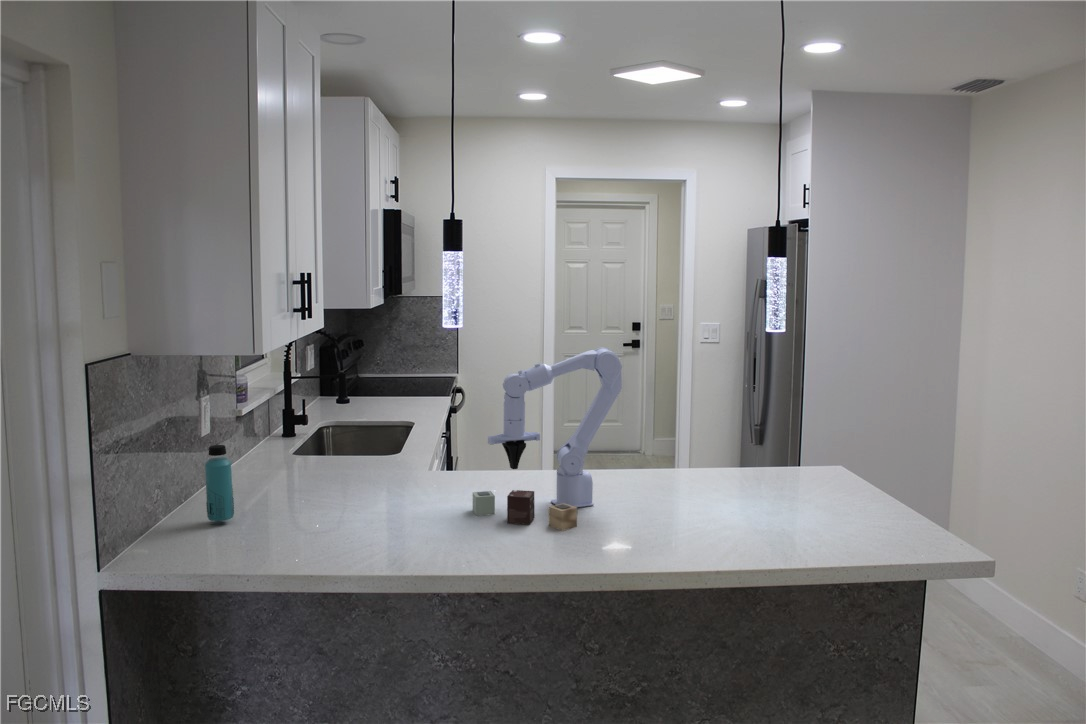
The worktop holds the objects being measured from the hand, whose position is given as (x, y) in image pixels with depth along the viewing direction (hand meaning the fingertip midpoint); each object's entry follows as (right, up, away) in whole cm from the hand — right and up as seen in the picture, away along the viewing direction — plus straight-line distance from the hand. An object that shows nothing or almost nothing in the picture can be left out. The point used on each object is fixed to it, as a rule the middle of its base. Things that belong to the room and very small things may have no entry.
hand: (513, 468), depth 231 cm
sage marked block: (-8, -11, -4) cm, 14 cm away
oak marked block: (+13, -13, -16) cm, 24 cm away
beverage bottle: (-73, -12, -15) cm, 76 cm away
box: (+2, -12, -12) cm, 17 cm away
